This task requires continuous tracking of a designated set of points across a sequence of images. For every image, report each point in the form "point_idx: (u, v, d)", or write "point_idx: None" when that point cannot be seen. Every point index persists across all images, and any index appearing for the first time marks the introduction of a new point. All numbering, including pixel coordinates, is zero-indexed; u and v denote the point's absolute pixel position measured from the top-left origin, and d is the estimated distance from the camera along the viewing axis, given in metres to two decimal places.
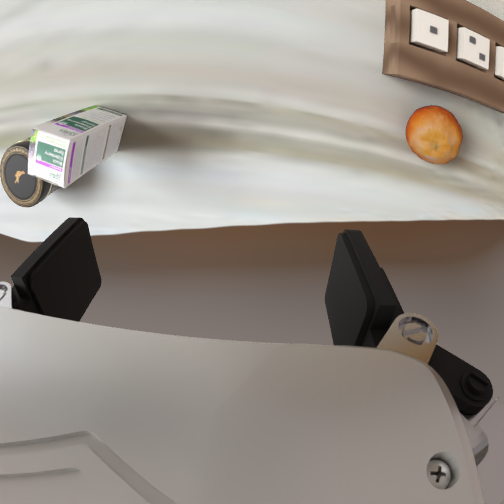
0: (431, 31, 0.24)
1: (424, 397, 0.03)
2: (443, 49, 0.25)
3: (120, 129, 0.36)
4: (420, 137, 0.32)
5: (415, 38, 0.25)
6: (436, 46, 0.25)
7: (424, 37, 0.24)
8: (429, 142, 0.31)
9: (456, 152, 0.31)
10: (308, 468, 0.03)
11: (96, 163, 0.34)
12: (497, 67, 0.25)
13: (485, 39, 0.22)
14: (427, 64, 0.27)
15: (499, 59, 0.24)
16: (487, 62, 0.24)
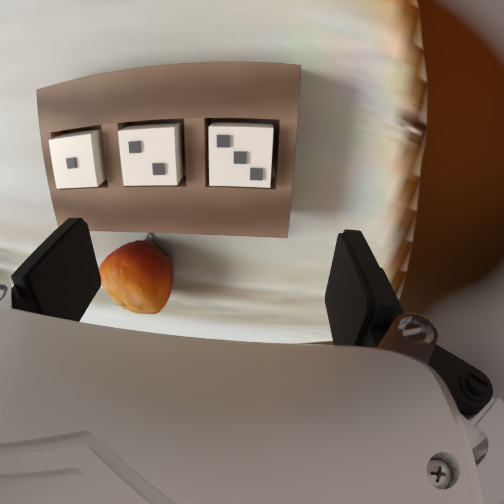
0: (70, 165, 0.22)
1: (424, 397, 0.03)
2: (91, 185, 0.23)
3: None
4: (106, 291, 0.30)
5: (57, 184, 0.23)
6: (81, 184, 0.23)
7: (64, 179, 0.22)
8: (116, 298, 0.30)
9: (153, 308, 0.29)
10: (308, 468, 0.03)
11: None
12: None
13: (164, 131, 0.20)
14: (86, 208, 0.25)
15: None
16: (173, 173, 0.22)
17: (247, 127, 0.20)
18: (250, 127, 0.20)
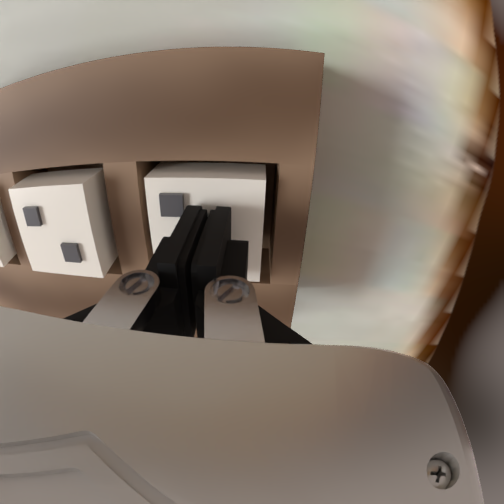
0: None
1: (424, 397, 0.03)
2: None
3: None
4: None
5: None
6: None
7: None
8: None
9: None
10: (308, 468, 0.03)
11: None
12: None
13: (68, 191, 0.11)
14: (4, 286, 0.15)
15: None
16: (94, 260, 0.12)
17: (215, 178, 0.11)
18: (221, 178, 0.11)
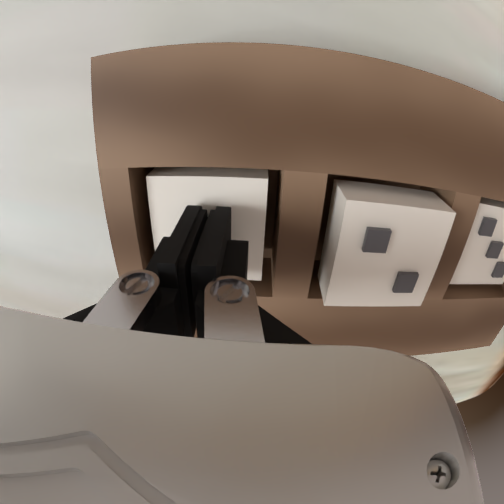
0: None
1: (424, 397, 0.03)
2: None
3: None
4: None
5: None
6: None
7: None
8: None
9: None
10: (308, 468, 0.03)
11: None
12: None
13: (438, 217, 0.10)
14: None
15: None
16: (423, 288, 0.11)
17: None
18: None
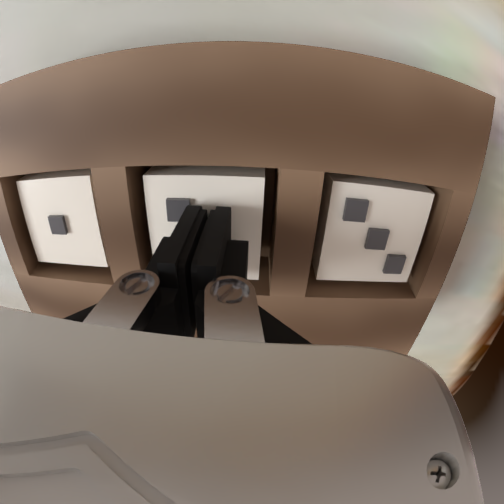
0: (57, 228, 0.12)
1: (424, 397, 0.03)
2: (96, 263, 0.13)
3: None
4: None
5: (39, 253, 0.13)
6: (78, 260, 0.13)
7: (48, 248, 0.13)
8: None
9: None
10: (308, 468, 0.03)
11: None
12: (317, 245, 0.13)
13: (242, 184, 0.11)
14: (78, 309, 0.14)
15: (322, 225, 0.12)
16: (253, 260, 0.13)
17: (397, 189, 0.11)
18: (401, 189, 0.11)
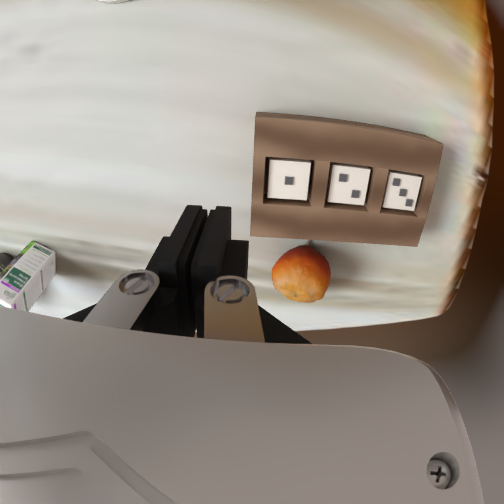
0: (287, 182, 0.34)
1: (424, 397, 0.03)
2: (301, 198, 0.35)
3: (52, 263, 0.45)
4: (279, 286, 0.41)
5: (267, 194, 0.35)
6: (292, 197, 0.35)
7: (277, 191, 0.35)
8: (289, 291, 0.40)
9: (320, 296, 0.40)
10: (308, 468, 0.03)
11: (37, 297, 0.42)
12: None
13: (363, 171, 0.33)
14: (285, 220, 0.36)
15: (385, 187, 0.34)
16: (363, 197, 0.34)
17: (409, 175, 0.33)
18: (410, 175, 0.33)
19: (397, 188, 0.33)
